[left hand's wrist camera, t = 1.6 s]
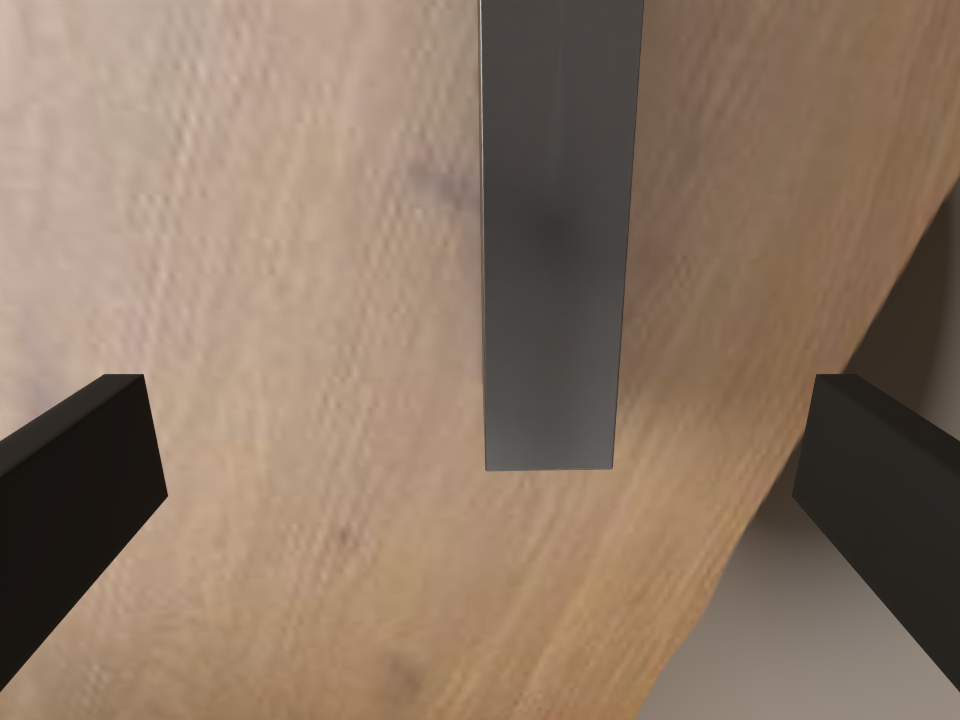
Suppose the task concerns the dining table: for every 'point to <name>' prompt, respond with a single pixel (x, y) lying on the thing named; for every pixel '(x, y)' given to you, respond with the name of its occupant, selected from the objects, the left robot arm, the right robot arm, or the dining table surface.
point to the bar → (554, 224)
